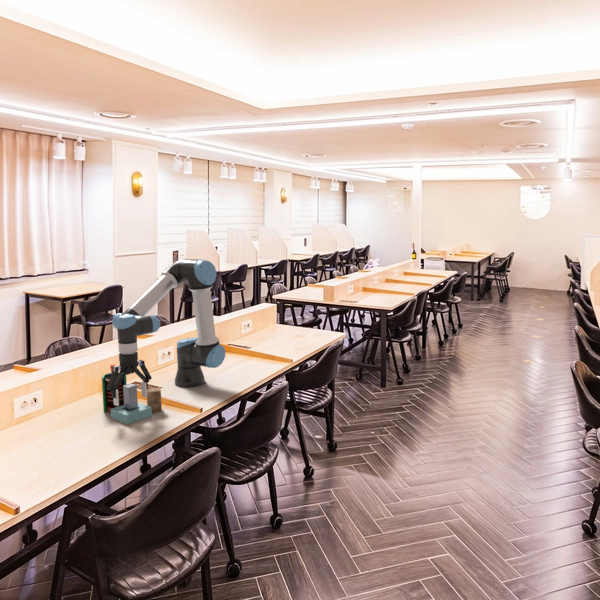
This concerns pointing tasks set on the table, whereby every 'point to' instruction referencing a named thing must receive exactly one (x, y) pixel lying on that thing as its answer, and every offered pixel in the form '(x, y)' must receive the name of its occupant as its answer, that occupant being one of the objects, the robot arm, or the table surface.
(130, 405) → the square bit
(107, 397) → the motor
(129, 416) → the socket block
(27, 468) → the table surface
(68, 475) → the table surface
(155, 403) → the round dowel
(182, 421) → the table surface
